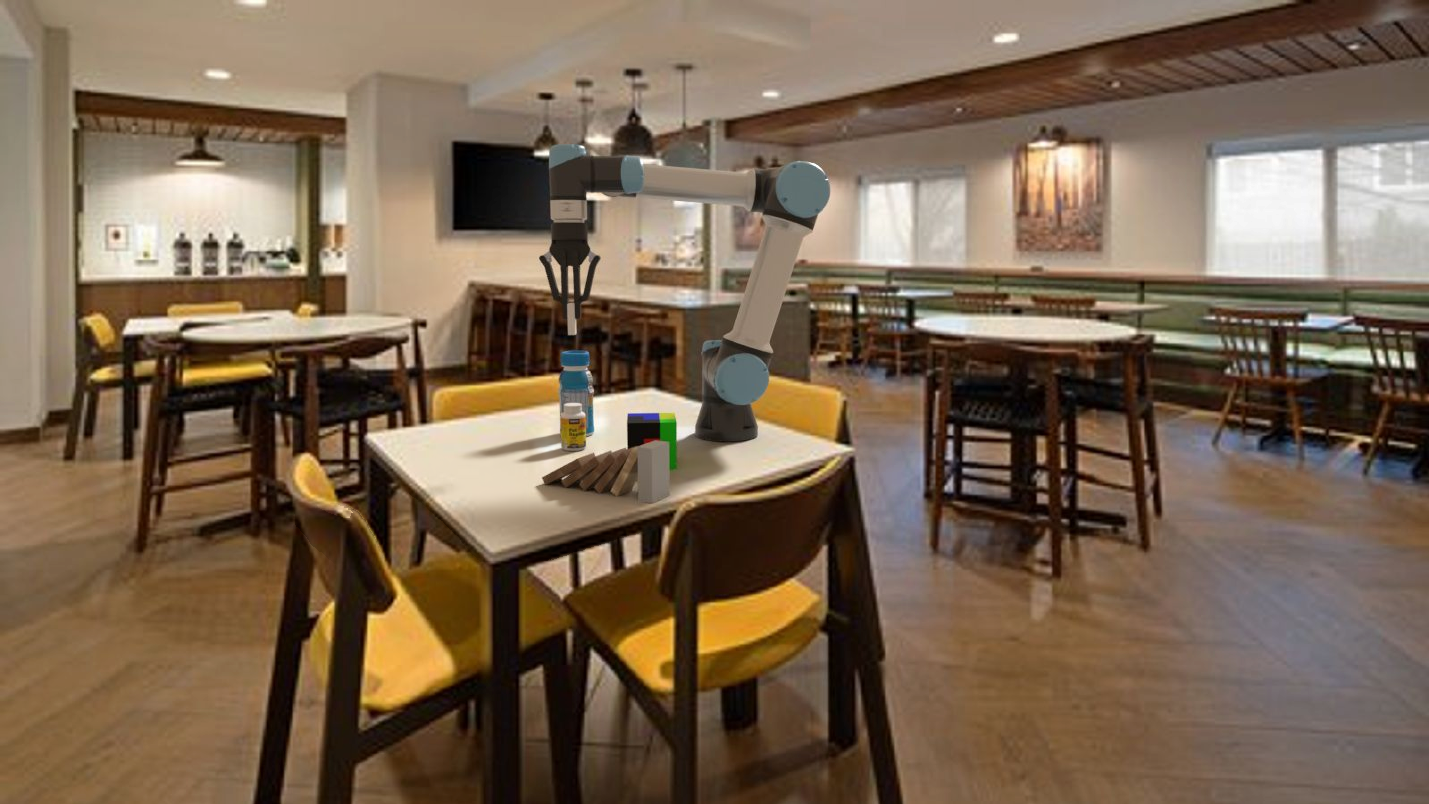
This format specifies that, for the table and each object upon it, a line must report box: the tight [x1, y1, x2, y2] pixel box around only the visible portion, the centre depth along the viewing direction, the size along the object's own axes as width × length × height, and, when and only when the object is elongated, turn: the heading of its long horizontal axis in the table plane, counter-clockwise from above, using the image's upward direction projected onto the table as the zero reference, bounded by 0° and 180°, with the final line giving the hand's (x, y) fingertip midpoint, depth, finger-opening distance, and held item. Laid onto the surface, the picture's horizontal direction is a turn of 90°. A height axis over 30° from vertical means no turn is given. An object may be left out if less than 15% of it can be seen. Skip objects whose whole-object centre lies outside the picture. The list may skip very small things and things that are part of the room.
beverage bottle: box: [557, 350, 595, 437], centre depth 210 cm, size 8×8×20 cm
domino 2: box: [560, 450, 613, 489], centre depth 166 cm, size 2×5×10 cm
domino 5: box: [610, 443, 647, 497], centre depth 162 cm, size 2×5×10 cm
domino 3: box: [578, 447, 627, 492], centre depth 164 cm, size 2×5×10 cm
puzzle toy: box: [626, 412, 678, 471], centre depth 184 cm, size 10×10×10 cm
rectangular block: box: [637, 440, 671, 504], centre depth 159 cm, size 3×6×10 cm, turn 152°
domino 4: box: [593, 446, 638, 495], centre depth 163 cm, size 2×5×10 cm
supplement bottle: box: [560, 403, 587, 452], centre depth 197 cm, size 6×6×10 cm
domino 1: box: [541, 452, 596, 486], centre depth 168 cm, size 2×5×10 cm
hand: (572, 334), depth 188 cm, fingers closed
